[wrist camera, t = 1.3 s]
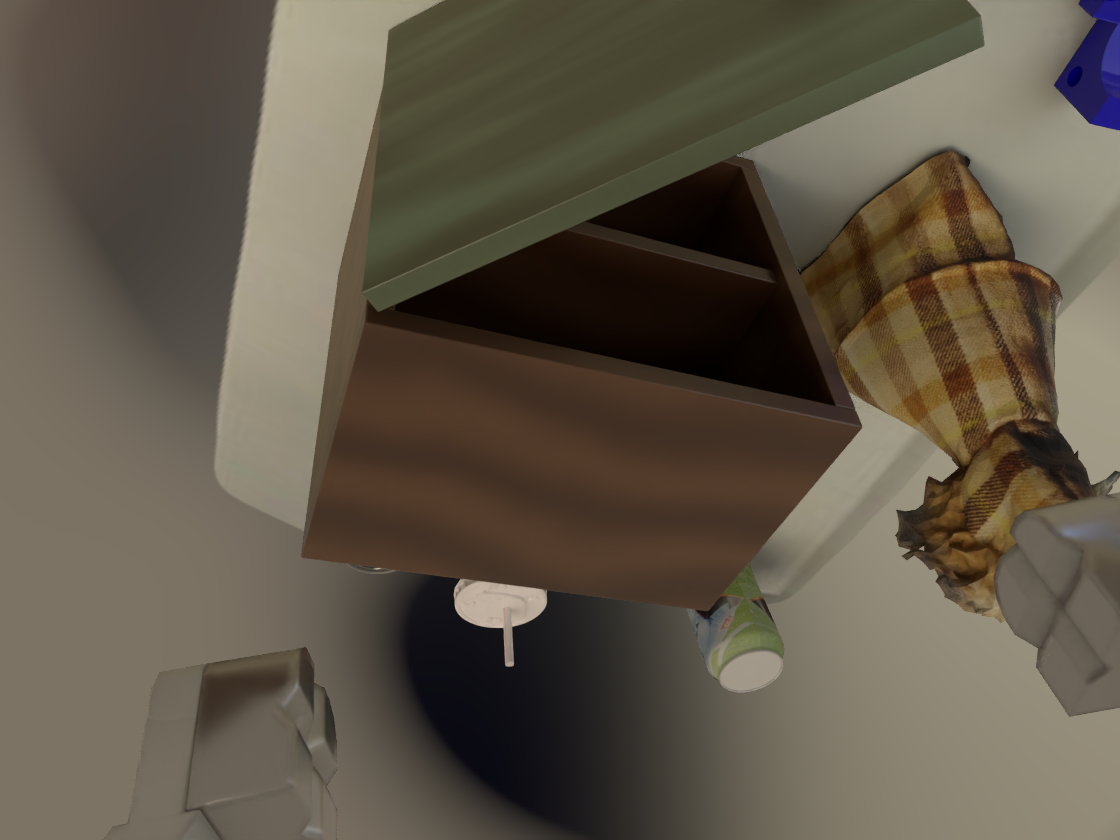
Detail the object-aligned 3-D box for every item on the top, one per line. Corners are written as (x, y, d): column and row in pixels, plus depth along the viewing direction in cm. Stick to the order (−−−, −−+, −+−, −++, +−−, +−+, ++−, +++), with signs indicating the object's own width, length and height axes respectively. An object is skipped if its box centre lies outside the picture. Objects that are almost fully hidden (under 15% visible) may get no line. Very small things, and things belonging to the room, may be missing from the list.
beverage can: (659, 568, 79) (683, 700, 71) (702, 518, 74) (734, 652, 66) (722, 581, 81) (753, 709, 73) (768, 532, 77) (806, 664, 68)
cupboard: (390, 52, 45) (364, 322, 31) (753, 160, 51) (863, 427, 37) (338, 275, 54) (300, 558, 41) (649, 344, 60) (708, 611, 47)
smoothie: (496, 530, 73) (502, 694, 64) (435, 495, 70) (433, 664, 60) (556, 491, 71) (572, 658, 61) (496, 453, 67) (504, 624, 57)
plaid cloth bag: (1091, 255, 56) (1281, 572, 38) (911, 389, 64) (994, 706, 46) (931, 116, 52) (1055, 395, 33) (760, 278, 60) (783, 577, 41)
